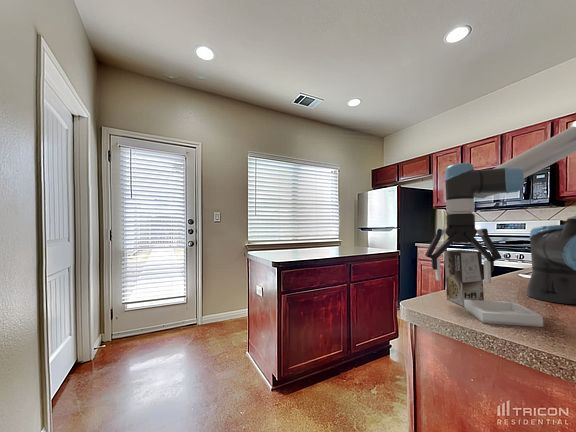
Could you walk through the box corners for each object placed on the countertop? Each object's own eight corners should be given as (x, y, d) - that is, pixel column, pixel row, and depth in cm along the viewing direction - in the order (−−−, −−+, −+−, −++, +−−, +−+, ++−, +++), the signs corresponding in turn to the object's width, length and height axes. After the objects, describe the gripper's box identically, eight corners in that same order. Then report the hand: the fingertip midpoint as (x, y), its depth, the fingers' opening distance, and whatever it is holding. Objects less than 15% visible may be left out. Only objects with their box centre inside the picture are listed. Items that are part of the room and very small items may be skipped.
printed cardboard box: (485, 306, 78) (482, 251, 79) (463, 307, 78) (460, 252, 79) (465, 298, 87) (463, 249, 88) (445, 298, 87) (443, 249, 88)
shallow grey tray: (514, 311, 74) (514, 301, 74) (543, 327, 62) (542, 316, 62) (464, 308, 77) (464, 299, 77) (482, 322, 65) (482, 312, 65)
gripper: (500, 213, 84) (503, 280, 83) (414, 214, 91) (416, 277, 90) (513, 211, 77) (516, 285, 76) (419, 213, 84) (421, 281, 83)
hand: (462, 281), depth 83 cm, fingers open, 13 cm apart
